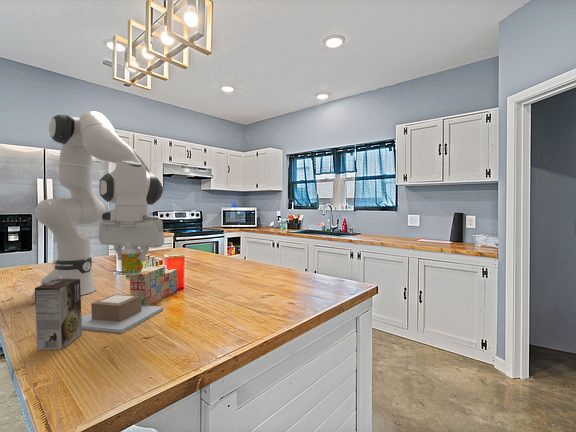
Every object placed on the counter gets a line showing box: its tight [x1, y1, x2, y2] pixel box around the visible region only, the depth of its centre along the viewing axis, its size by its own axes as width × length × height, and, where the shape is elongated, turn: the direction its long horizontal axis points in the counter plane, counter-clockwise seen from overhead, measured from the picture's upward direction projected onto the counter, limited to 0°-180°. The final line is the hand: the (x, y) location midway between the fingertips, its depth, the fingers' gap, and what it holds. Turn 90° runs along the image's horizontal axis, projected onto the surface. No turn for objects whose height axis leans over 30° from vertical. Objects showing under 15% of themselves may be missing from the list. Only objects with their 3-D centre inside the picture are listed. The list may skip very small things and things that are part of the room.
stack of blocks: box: [129, 265, 178, 306], centre depth 122 cm, size 21×6×12 cm, turn 169°
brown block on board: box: [81, 294, 165, 334], centre depth 100 cm, size 20×20×6 cm
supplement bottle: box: [120, 243, 142, 276], centre depth 94 cm, size 5×5×10 cm
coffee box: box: [34, 279, 83, 351], centre depth 83 cm, size 9×6×16 cm
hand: (131, 260), depth 94 cm, fingers closed on supplement bottle, 5 cm apart
